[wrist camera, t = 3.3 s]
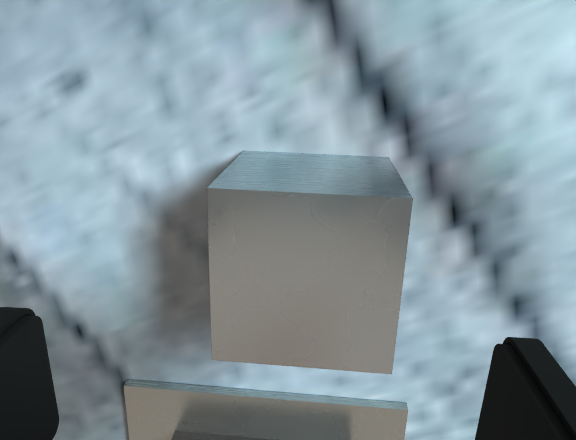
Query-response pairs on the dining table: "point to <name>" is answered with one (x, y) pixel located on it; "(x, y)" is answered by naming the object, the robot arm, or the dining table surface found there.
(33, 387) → the robot arm
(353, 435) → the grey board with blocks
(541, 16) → the dining table surface
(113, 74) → the dining table surface
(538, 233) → the dining table surface
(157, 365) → the dining table surface
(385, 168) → the light grey cube
